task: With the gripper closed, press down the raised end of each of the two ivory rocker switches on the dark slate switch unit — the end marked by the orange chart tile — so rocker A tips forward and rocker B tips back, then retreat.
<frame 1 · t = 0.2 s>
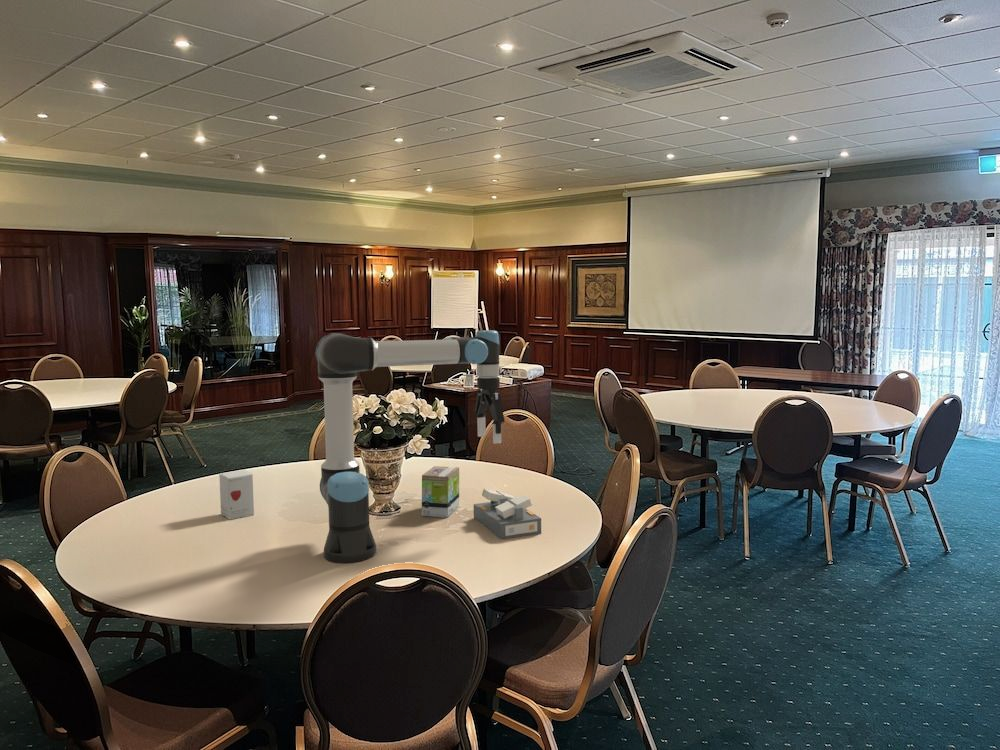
hand: (489, 439, 233), 28 cm above the table, fingers open, 13 cm apart
supplement box: (237, 515, 245), on the table
rocker a: (513, 505, 224), point 8 cm above the table, hinge at -18.0°
tea box: (441, 511, 247), on the table
rocker b: (499, 496, 235), point 8 cm above the table, hinge at 18.0°
switch unit: (506, 525, 230), on the table
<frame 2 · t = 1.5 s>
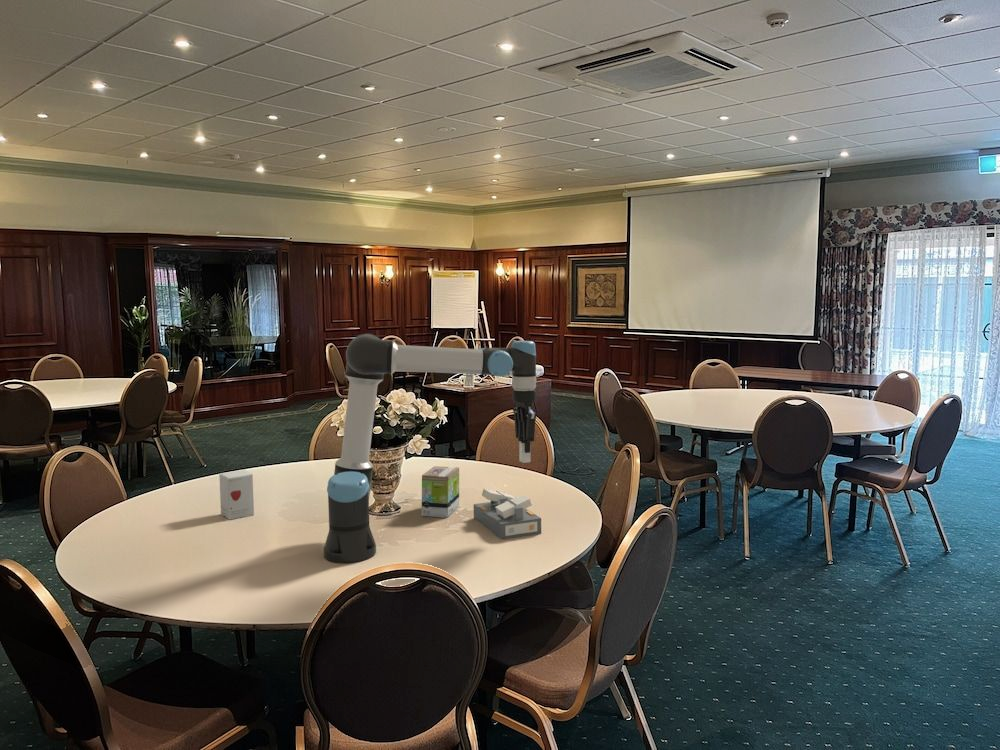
hand: (524, 461, 224), 22 cm above the table, fingers closed
nothing on the table moved.
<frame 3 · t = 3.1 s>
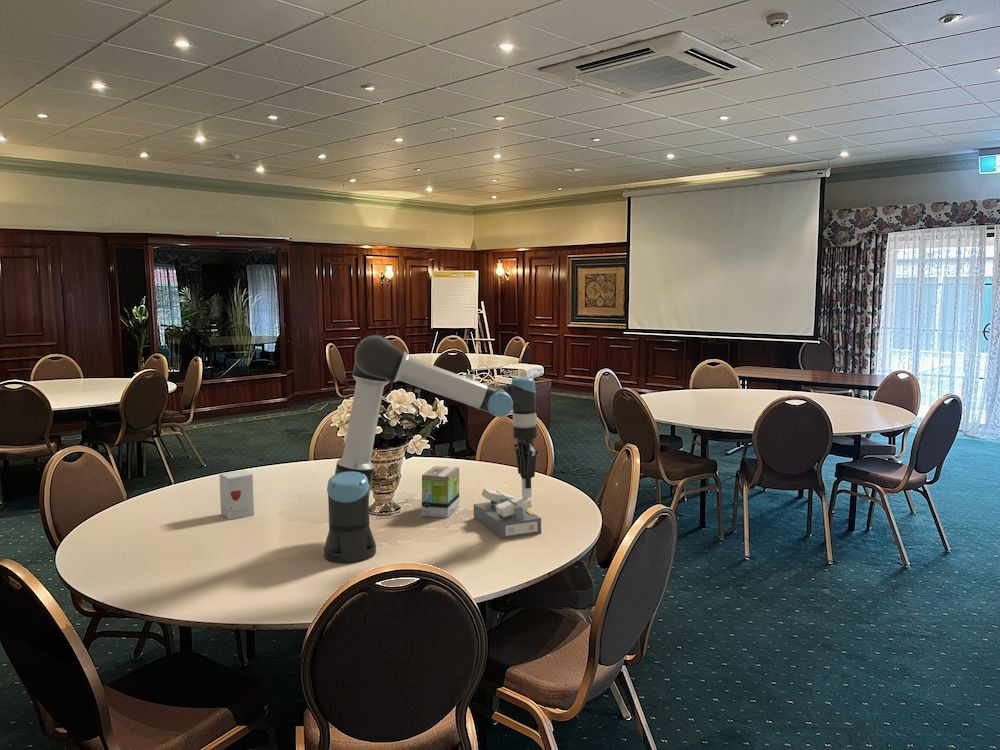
hand: (526, 497, 225), 11 cm above the table, fingers closed
rocker a: (513, 505, 224), point 8 cm above the table, hinge at -12.4°, touching gripper
everything else where it was.
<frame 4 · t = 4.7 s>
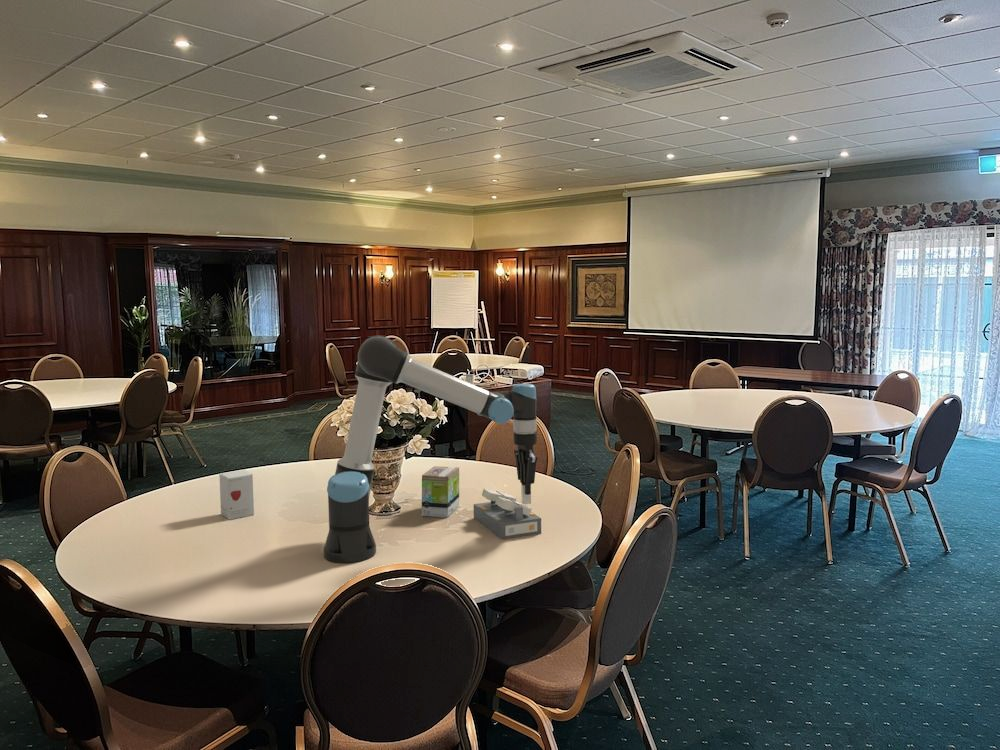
hand: (526, 503, 226), 9 cm above the table, fingers closed
rocker a: (513, 505, 224), point 8 cm above the table, hinge at 21.2°, touching gripper
everything else where it was.
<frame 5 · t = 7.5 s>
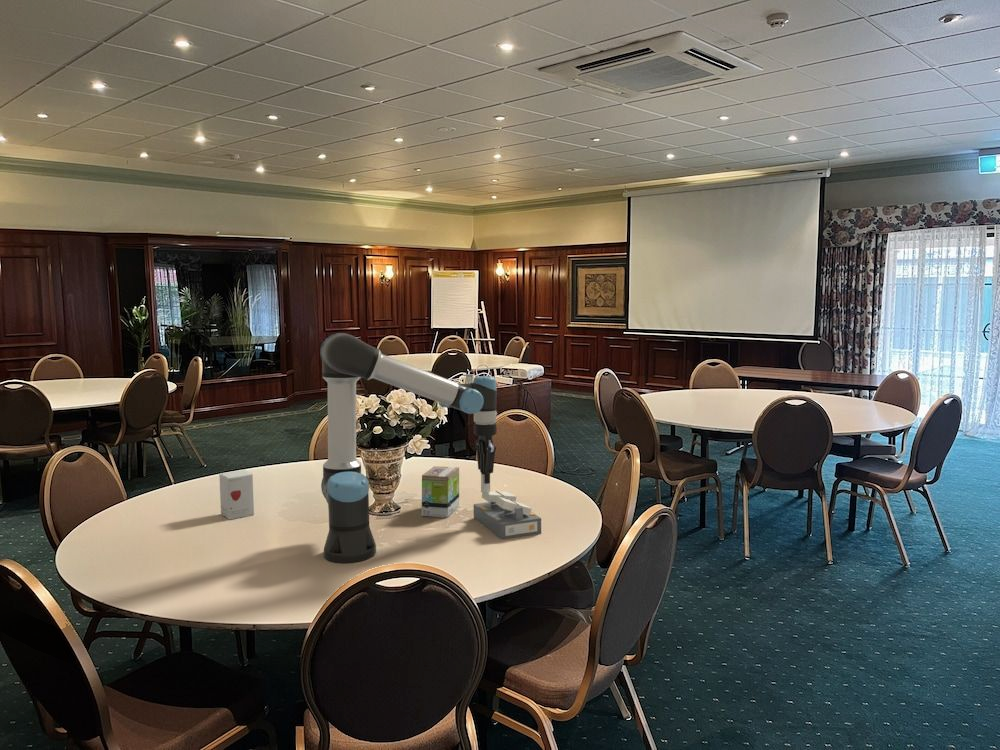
hand: (485, 492, 233), 10 cm above the table, fingers closed
rocker a: (513, 505, 224), point 8 cm above the table, hinge at 21.6°
rocker b: (499, 496, 235), point 8 cm above the table, hinge at 10.2°, touching gripper
everything else where it was.
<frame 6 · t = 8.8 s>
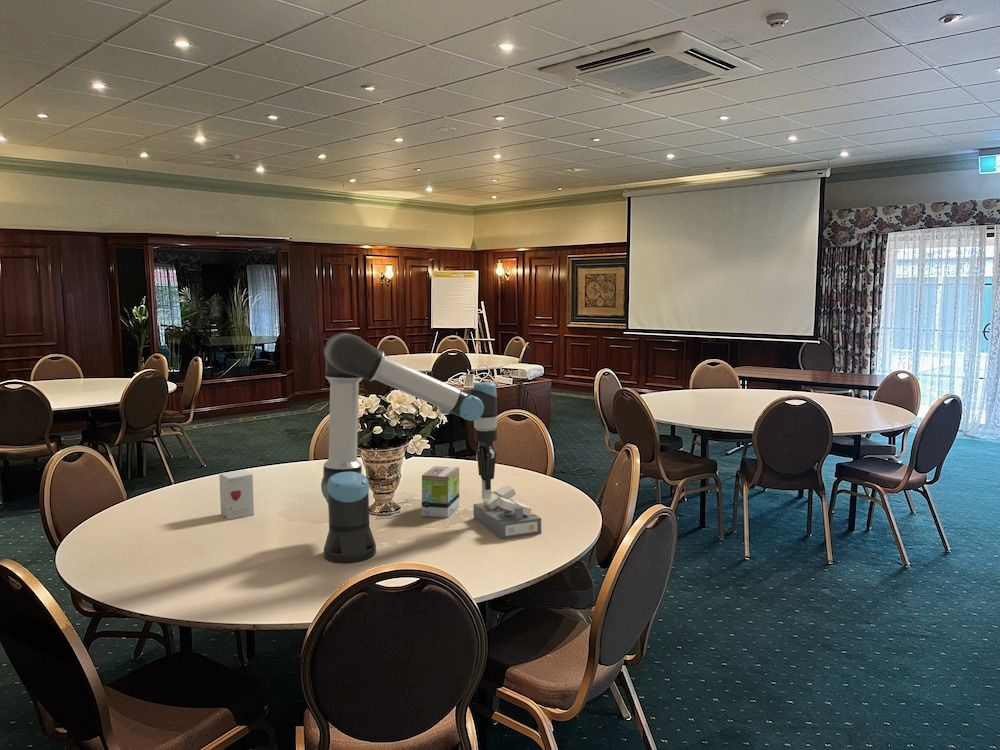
hand: (486, 498, 233), 8 cm above the table, fingers closed
rocker b: (498, 496, 235), point 8 cm above the table, hinge at -24.9°, touching gripper
everything else where it was.
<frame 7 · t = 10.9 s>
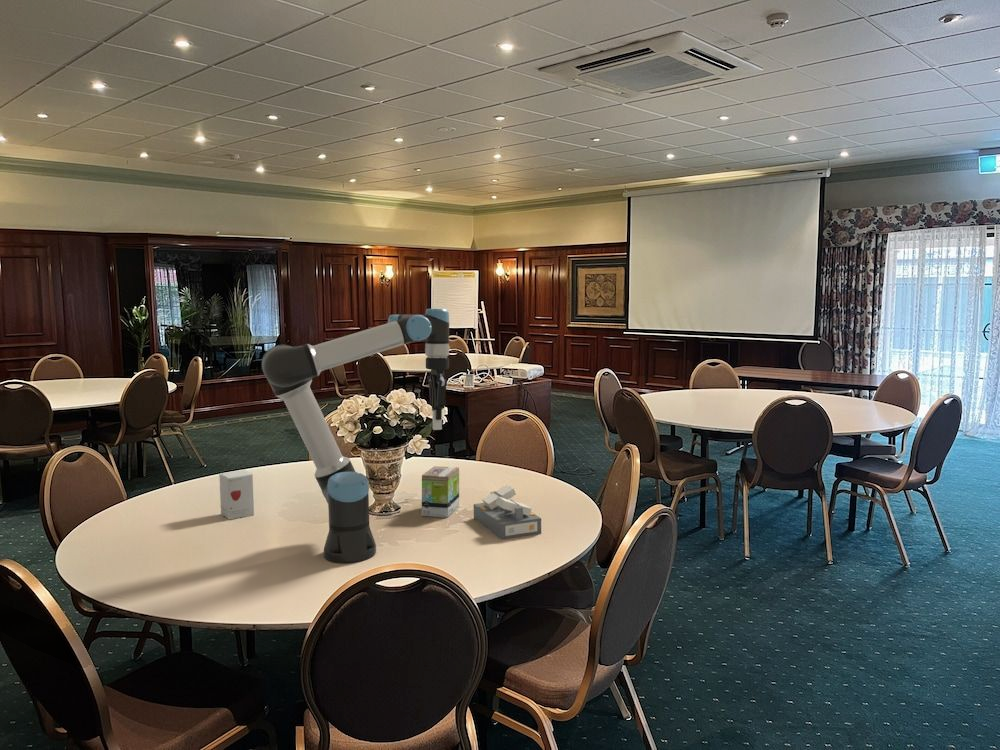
hand: (437, 429, 225), 33 cm above the table, fingers closed
rocker b: (498, 496, 235), point 8 cm above the table, hinge at -24.8°
everything else where it was.
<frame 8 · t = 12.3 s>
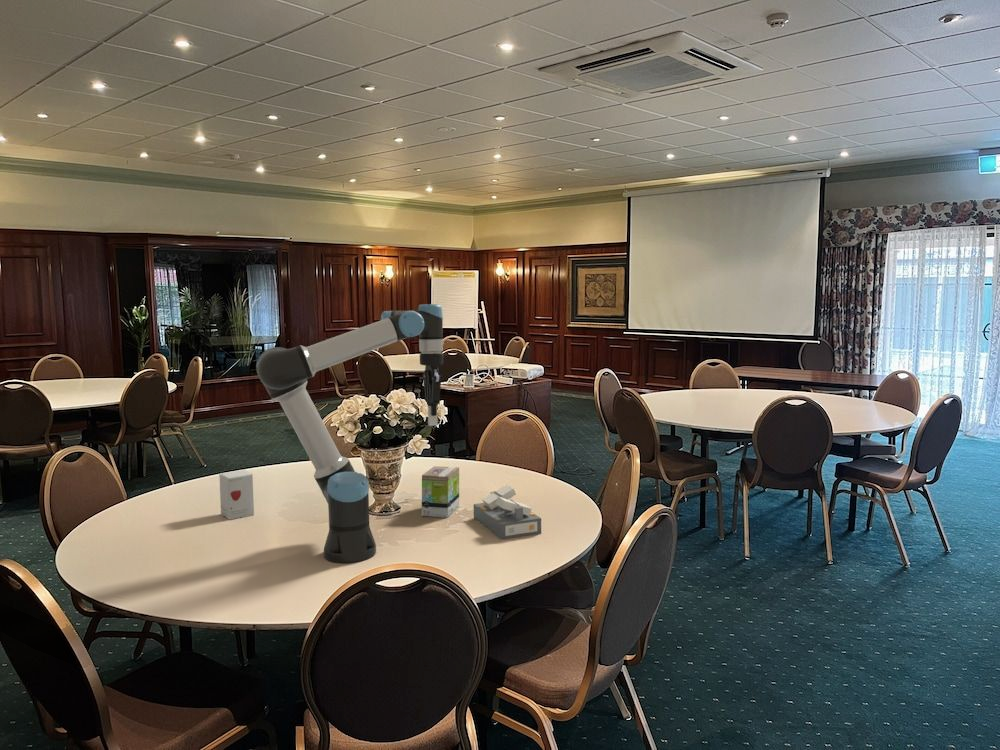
hand: (432, 425, 224), 34 cm above the table, fingers closed
nothing on the table moved.
at the end: rocker a at +22° (first picture: -18°); rocker b at -25° (first picture: +18°) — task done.
